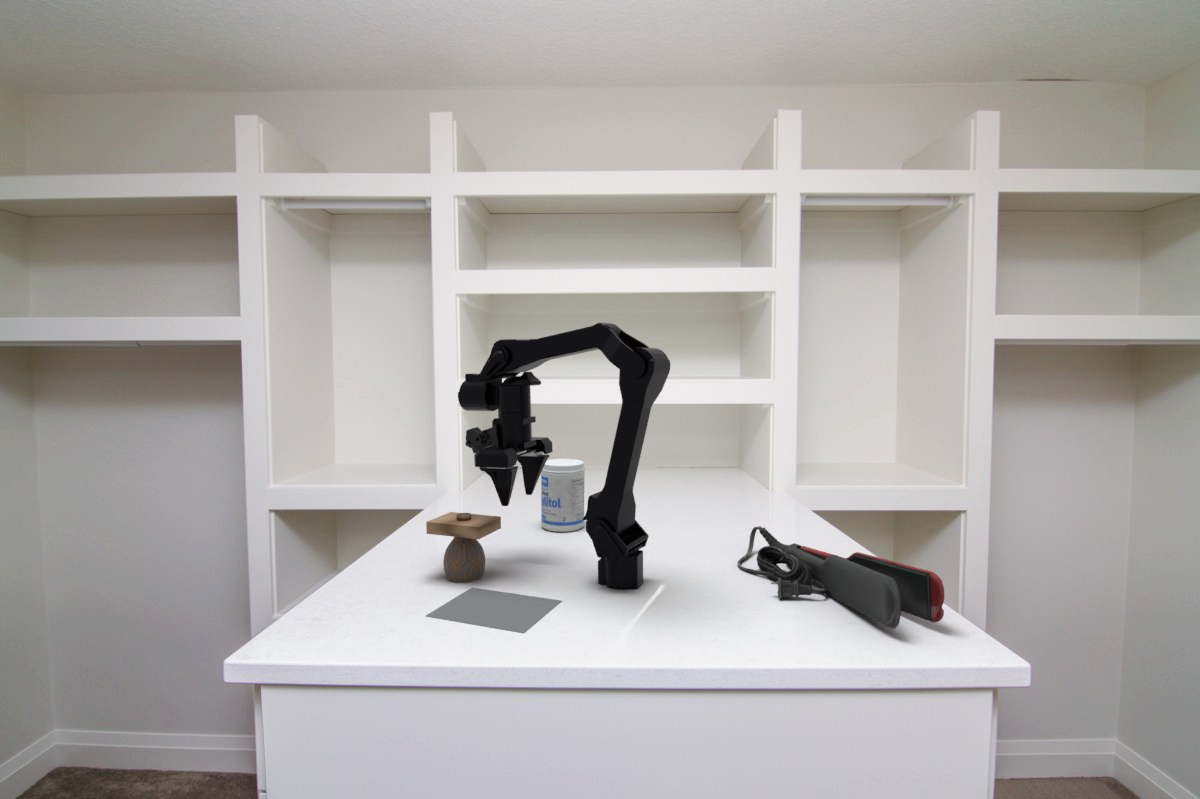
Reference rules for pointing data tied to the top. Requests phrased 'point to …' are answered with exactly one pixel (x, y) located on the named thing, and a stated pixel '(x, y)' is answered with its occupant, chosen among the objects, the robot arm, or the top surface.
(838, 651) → the top surface
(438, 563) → the top surface
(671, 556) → the top surface
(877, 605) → the hair straightener
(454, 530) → the lid
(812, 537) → the top surface
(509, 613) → the mat
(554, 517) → the supplement tub
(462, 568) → the vase
